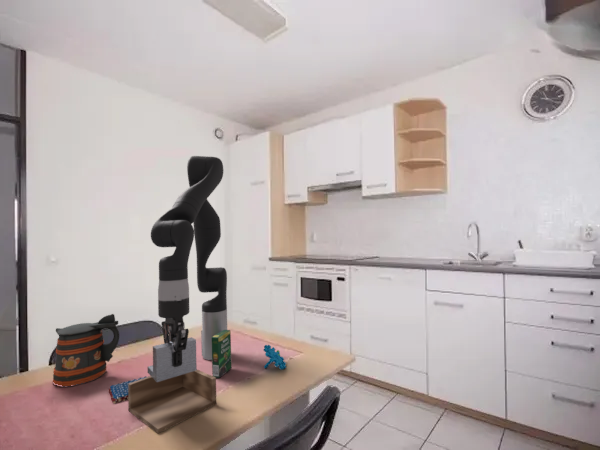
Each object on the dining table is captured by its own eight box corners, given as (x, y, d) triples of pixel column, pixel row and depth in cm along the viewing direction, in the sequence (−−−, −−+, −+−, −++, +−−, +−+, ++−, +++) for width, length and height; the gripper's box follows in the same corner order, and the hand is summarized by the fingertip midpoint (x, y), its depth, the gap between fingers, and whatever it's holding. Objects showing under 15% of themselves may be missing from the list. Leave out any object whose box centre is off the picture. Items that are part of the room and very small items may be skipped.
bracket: (156, 382, 78) (156, 349, 78) (147, 372, 84) (147, 341, 84) (196, 370, 84) (196, 339, 85) (185, 361, 90) (184, 333, 91)
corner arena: (128, 410, 83) (128, 383, 84) (184, 387, 96) (184, 363, 96) (157, 433, 73) (157, 402, 73) (216, 403, 86) (215, 377, 86)
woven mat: (107, 392, 95) (107, 385, 95) (146, 381, 102) (146, 375, 102) (111, 406, 87) (111, 398, 87) (153, 393, 93) (153, 386, 93)
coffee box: (219, 378, 101) (218, 337, 101) (211, 378, 102) (210, 336, 102) (232, 368, 108) (231, 329, 109) (224, 367, 109) (224, 329, 110)
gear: (283, 370, 102) (262, 346, 104) (270, 383, 102) (250, 359, 104) (290, 361, 113) (271, 340, 115) (279, 373, 113) (260, 352, 115)
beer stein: (125, 363, 116) (124, 308, 116) (115, 380, 102) (114, 317, 103) (63, 372, 110) (63, 313, 111) (44, 391, 96) (43, 324, 97)
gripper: (150, 295, 86) (151, 360, 85) (168, 302, 75) (169, 377, 74) (178, 291, 91) (179, 353, 90) (198, 297, 80) (200, 367, 79)
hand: (174, 363), depth 82 cm, fingers closed on bracket, 3 cm apart
